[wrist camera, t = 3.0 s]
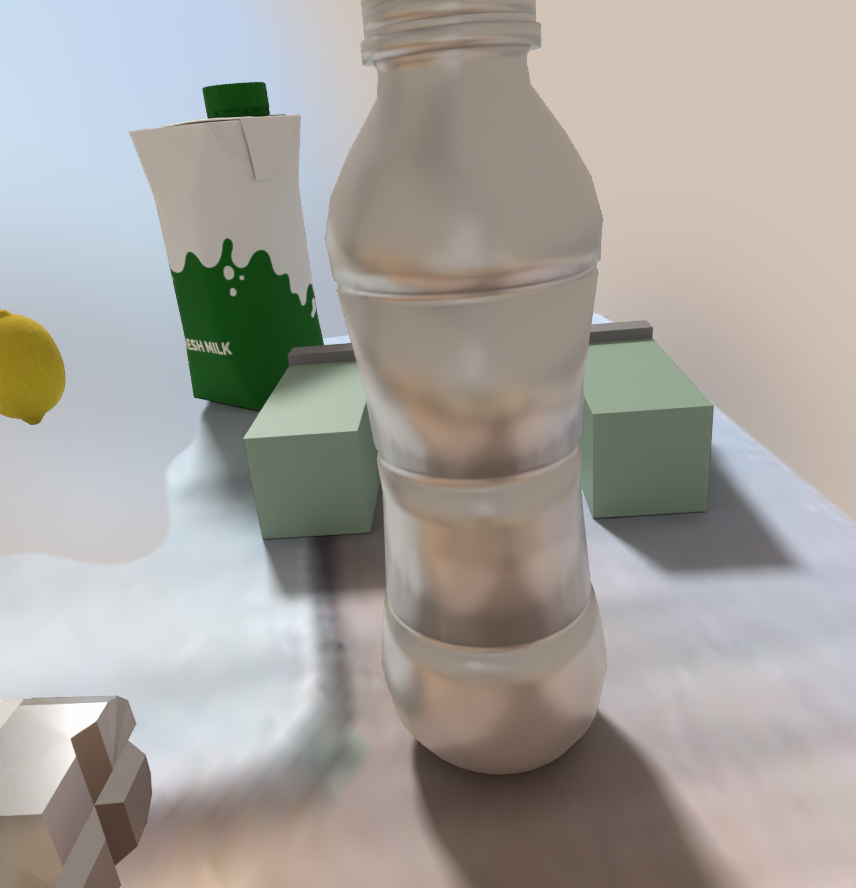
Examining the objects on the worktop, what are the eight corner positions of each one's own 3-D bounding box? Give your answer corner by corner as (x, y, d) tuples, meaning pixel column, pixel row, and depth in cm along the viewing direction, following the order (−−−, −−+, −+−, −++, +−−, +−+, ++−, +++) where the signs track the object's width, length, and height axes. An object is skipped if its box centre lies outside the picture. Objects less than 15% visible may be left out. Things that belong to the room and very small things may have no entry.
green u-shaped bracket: (262, 539, 35) (240, 426, 33) (307, 437, 46) (292, 347, 44) (706, 511, 34) (714, 392, 32) (643, 413, 45) (646, 320, 43)
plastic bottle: (458, 850, 19) (365, -89, 12) (357, 694, 25) (247, -9, 17) (654, 746, 22) (687, -81, 14) (522, 626, 28) (492, -14, 20)
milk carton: (348, 377, 56) (309, 77, 49) (258, 419, 50) (195, 80, 42) (266, 364, 61) (217, 90, 53) (173, 401, 55) (102, 95, 47)
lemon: (94, 415, 53) (63, 301, 50) (21, 444, 49) (-18, 323, 46) (47, 406, 56) (15, 298, 53) (-26, 433, 52) (-66, 318, 49)
